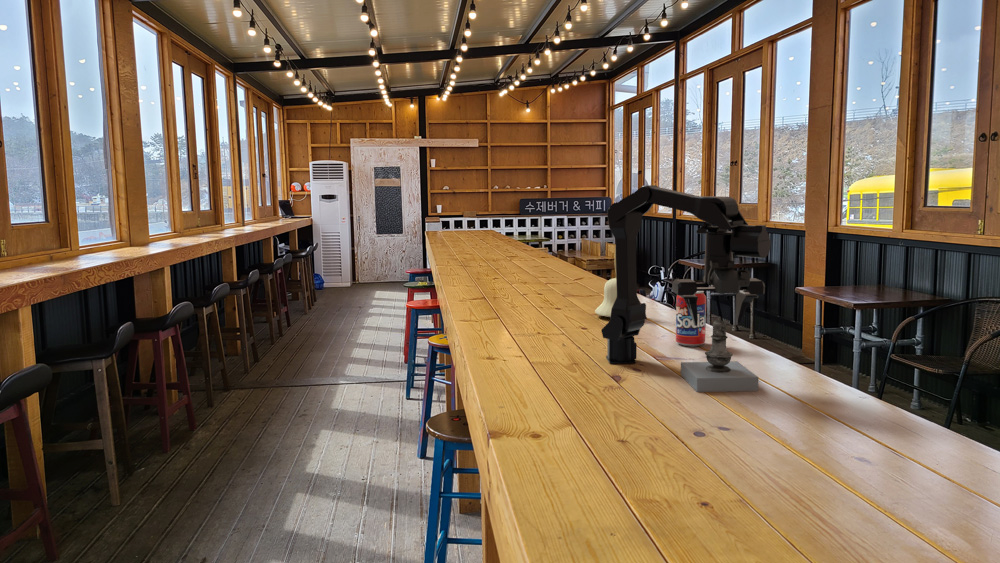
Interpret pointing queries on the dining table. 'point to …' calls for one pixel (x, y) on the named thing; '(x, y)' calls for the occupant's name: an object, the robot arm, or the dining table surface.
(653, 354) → the dining table surface
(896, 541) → the dining table surface
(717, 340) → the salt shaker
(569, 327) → the dining table surface
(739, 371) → the riser
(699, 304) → the soda can
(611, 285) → the handbell
